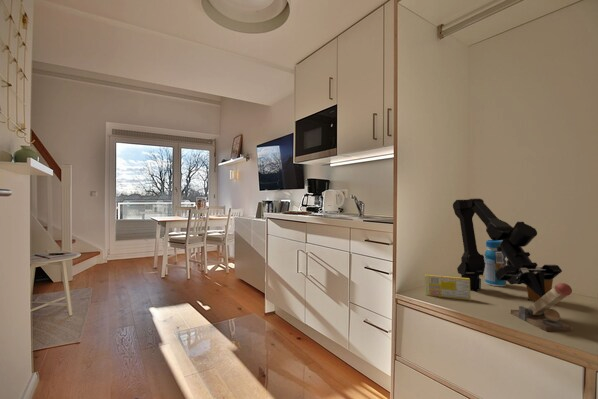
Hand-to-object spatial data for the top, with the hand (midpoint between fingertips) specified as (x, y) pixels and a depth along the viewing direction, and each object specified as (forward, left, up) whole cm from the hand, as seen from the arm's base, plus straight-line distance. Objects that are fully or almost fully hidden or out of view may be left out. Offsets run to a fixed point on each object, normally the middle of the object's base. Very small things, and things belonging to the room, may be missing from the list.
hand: (543, 296), depth 89 cm
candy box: (-30, +6, -9) cm, 32 cm away
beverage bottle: (-21, +40, -9) cm, 46 cm away
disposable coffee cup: (-4, +27, -9) cm, 29 cm away
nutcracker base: (-1, +1, -8) cm, 9 cm away
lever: (-3, +3, -7) cm, 8 cm away
